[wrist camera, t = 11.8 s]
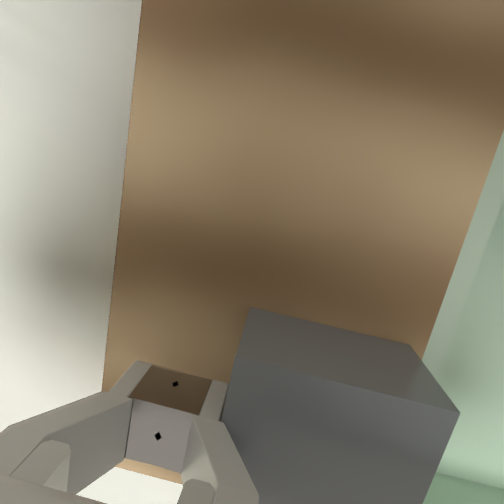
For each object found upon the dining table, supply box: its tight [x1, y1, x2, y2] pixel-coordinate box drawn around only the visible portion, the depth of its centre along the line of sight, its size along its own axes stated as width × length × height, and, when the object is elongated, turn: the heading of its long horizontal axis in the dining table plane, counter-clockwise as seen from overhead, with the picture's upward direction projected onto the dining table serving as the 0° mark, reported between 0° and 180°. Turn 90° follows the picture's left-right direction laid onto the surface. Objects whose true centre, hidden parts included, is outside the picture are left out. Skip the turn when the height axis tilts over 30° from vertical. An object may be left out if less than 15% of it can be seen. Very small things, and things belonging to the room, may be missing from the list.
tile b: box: [221, 307, 460, 504], centre depth 9 cm, size 5×5×3 cm
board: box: [102, 0, 504, 484], centre depth 11 cm, size 18×10×3 cm, turn 169°
